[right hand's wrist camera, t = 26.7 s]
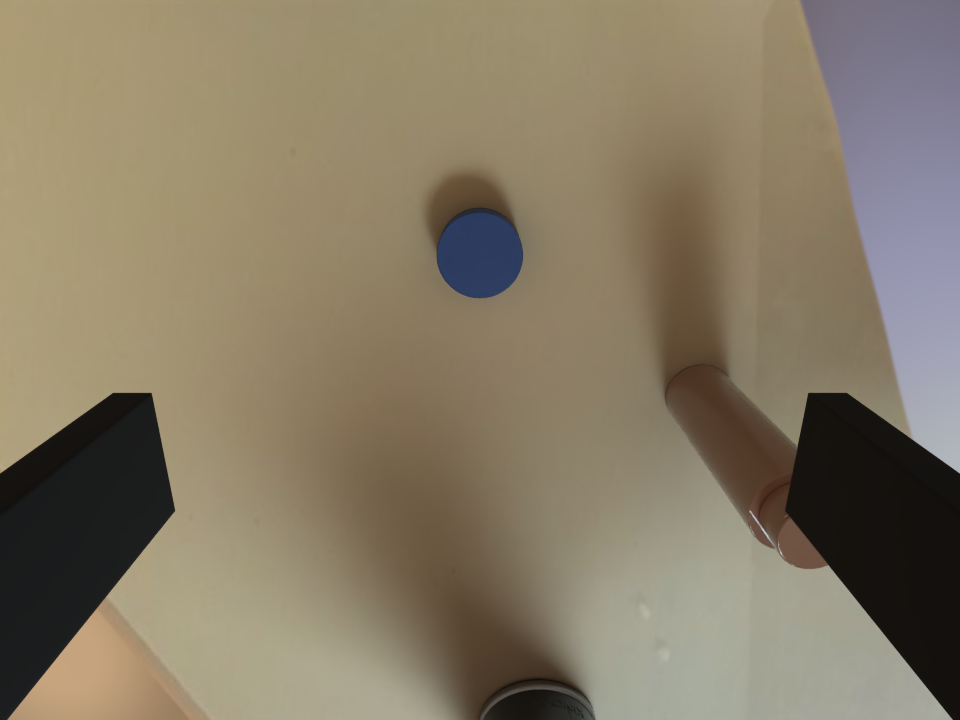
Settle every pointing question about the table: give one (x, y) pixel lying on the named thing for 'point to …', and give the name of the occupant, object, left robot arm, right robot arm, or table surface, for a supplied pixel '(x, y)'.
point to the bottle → (742, 457)
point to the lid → (479, 253)
